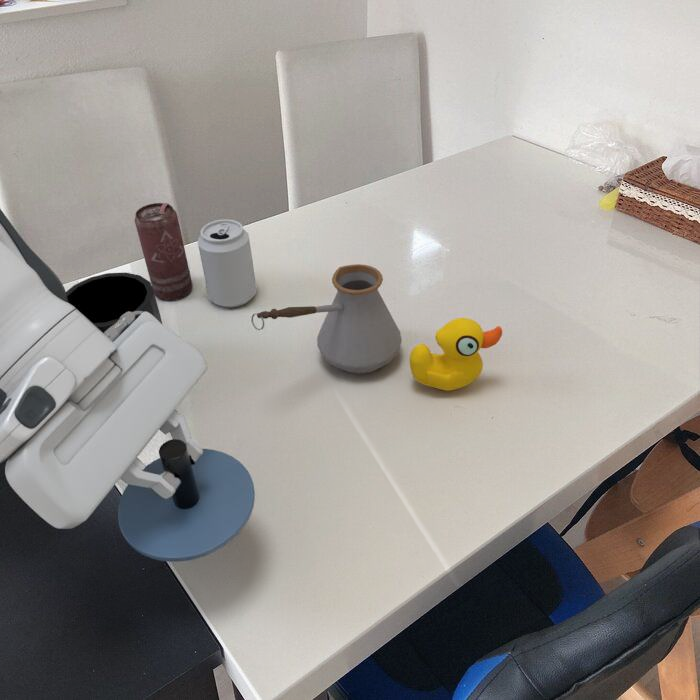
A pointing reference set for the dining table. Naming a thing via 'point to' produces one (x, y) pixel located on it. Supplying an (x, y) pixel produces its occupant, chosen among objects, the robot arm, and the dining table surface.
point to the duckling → (453, 355)
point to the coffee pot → (352, 322)
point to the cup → (113, 298)
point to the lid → (188, 505)
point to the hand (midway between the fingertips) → (185, 475)
